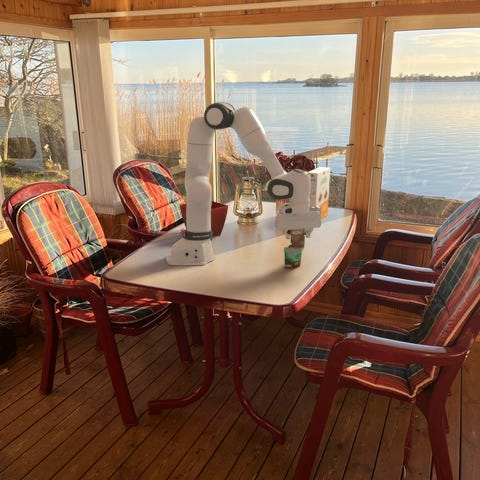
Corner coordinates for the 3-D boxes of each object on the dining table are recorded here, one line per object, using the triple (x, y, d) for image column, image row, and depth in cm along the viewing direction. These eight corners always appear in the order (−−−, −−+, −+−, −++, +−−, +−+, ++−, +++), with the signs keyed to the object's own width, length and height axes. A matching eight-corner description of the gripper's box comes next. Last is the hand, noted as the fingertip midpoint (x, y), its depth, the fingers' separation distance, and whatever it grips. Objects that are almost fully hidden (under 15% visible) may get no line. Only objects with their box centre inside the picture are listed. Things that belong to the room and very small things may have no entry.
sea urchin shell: (305, 227, 272) (305, 213, 270) (316, 234, 260) (317, 219, 257) (284, 229, 268) (284, 215, 266) (294, 236, 256) (294, 221, 253)
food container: (295, 271, 206) (296, 249, 203) (283, 268, 209) (283, 247, 206) (307, 263, 216) (308, 242, 213) (295, 260, 219) (296, 240, 216)
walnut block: (295, 248, 205) (295, 236, 204) (290, 242, 213) (290, 231, 211) (304, 247, 206) (304, 236, 204) (299, 241, 213) (299, 231, 212)
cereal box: (317, 214, 300) (320, 167, 291) (327, 215, 297) (330, 167, 288) (304, 222, 281) (307, 172, 272) (314, 224, 278) (317, 173, 269)
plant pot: (200, 243, 243) (200, 211, 238) (179, 234, 257) (178, 204, 252) (229, 236, 255) (229, 205, 250) (207, 228, 269) (207, 199, 264)
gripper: (319, 204, 209) (317, 234, 213) (274, 206, 205) (273, 237, 209) (324, 207, 203) (322, 238, 208) (279, 210, 199) (278, 241, 203)
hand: (297, 238), depth 208 cm, fingers open, 8 cm apart
